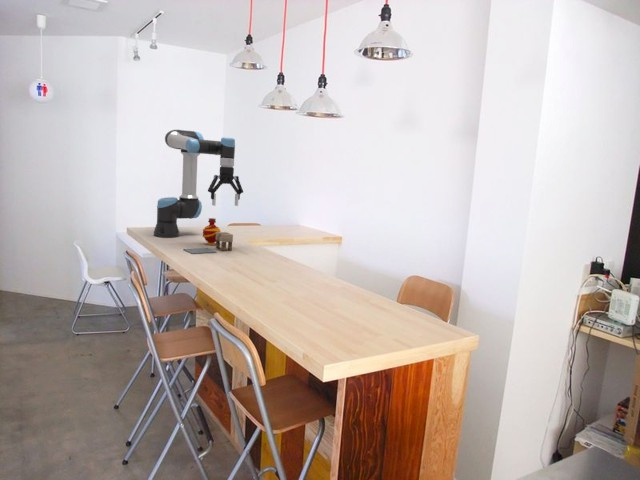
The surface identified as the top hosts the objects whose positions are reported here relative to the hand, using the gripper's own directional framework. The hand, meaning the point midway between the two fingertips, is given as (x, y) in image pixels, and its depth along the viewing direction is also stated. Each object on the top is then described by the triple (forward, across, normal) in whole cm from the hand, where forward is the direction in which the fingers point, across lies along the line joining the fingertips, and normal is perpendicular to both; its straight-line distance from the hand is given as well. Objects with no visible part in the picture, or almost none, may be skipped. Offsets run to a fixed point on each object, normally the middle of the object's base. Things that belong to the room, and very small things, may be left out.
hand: (225, 205), depth 267 cm
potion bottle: (+25, +1, +17) cm, 30 cm away
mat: (+25, -14, -1) cm, 29 cm away
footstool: (+25, +1, +1) cm, 25 cm away
